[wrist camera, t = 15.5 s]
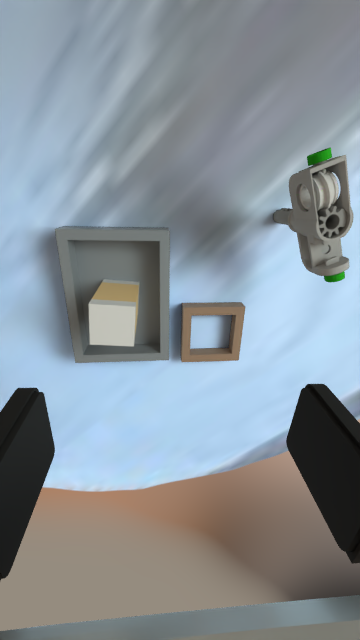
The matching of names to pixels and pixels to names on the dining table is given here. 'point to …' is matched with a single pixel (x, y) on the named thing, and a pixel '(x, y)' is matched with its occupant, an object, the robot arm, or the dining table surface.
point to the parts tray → (125, 265)
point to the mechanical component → (320, 214)
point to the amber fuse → (114, 313)
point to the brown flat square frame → (212, 353)
